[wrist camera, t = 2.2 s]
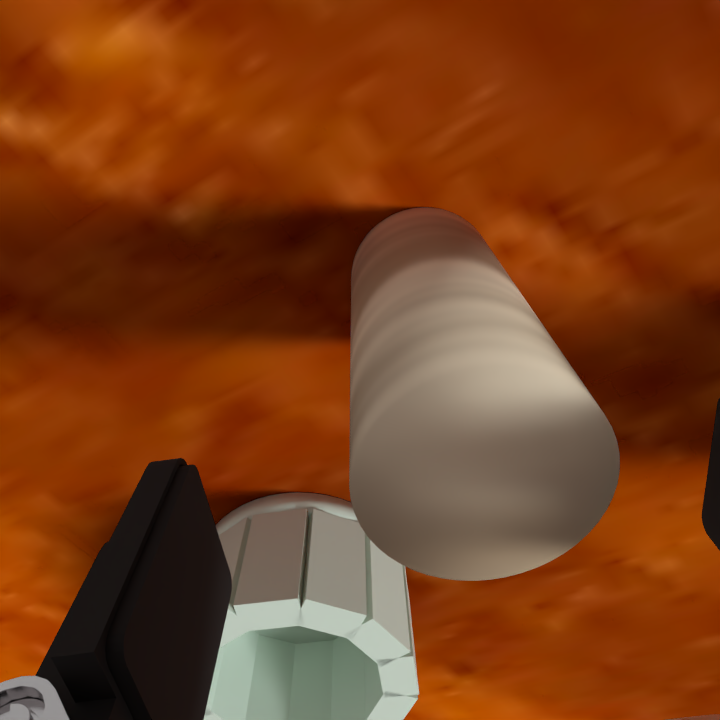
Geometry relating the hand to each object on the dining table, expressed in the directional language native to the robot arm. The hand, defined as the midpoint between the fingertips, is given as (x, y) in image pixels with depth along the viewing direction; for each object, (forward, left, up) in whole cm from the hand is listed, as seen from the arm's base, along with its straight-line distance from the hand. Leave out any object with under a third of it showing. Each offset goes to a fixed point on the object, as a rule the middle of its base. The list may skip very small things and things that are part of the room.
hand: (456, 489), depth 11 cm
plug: (-1, 0, -9) cm, 9 cm away
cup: (+11, -6, -9) cm, 16 cm away
